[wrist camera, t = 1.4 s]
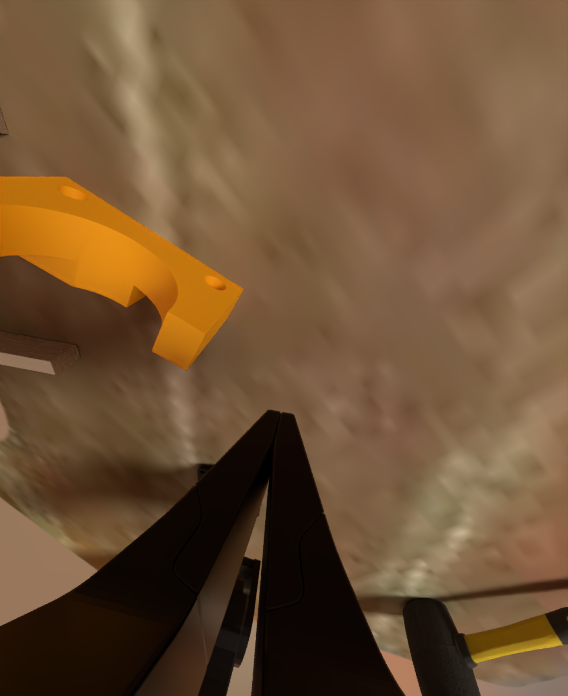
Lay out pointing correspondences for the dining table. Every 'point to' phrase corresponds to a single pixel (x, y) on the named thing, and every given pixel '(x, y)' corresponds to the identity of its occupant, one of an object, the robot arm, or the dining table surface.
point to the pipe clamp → (114, 260)
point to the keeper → (34, 343)
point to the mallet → (469, 645)
